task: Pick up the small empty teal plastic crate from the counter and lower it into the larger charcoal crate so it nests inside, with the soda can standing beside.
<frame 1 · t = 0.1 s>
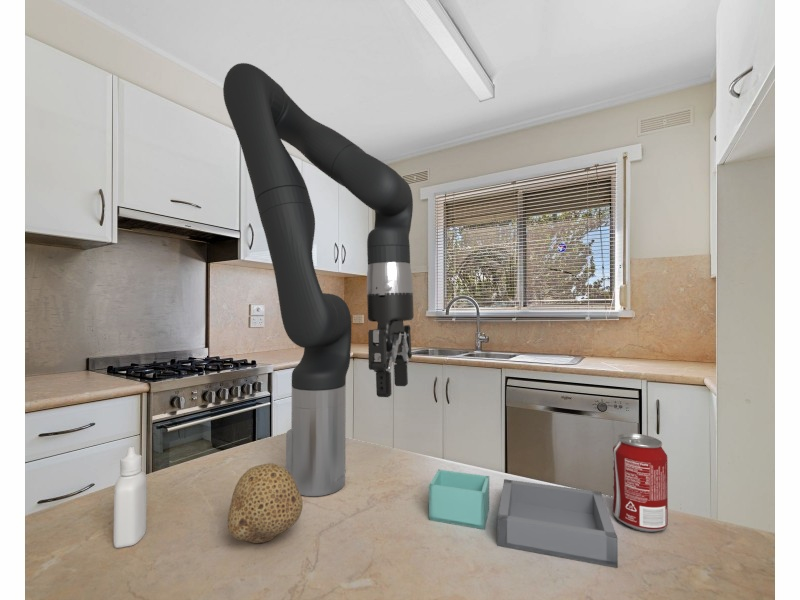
hand: (393, 390, 66), 17 cm above the countertop, tool pointing down, fingers open, 8 cm apart
large crate: (552, 529, 57), on the countertop
small crate: (459, 514, 61), on the countertop
eye dropper bottle: (130, 538, 55), on the countertop
natural sponge: (267, 542, 54), on the countertop
soda can: (639, 524, 59), on the countertop
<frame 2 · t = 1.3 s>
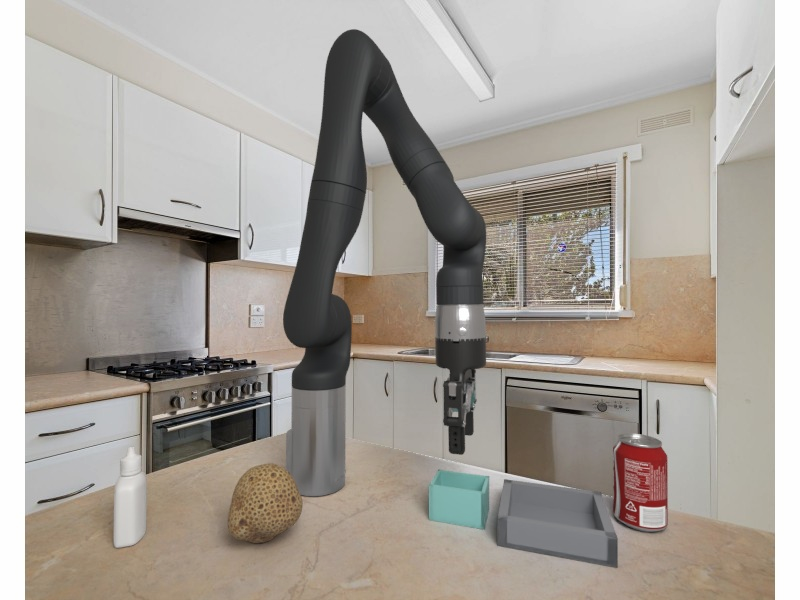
hand: (462, 443, 61), 11 cm above the countertop, tool pointing down, fingers open, 8 cm apart
nothing on the countertop moved.
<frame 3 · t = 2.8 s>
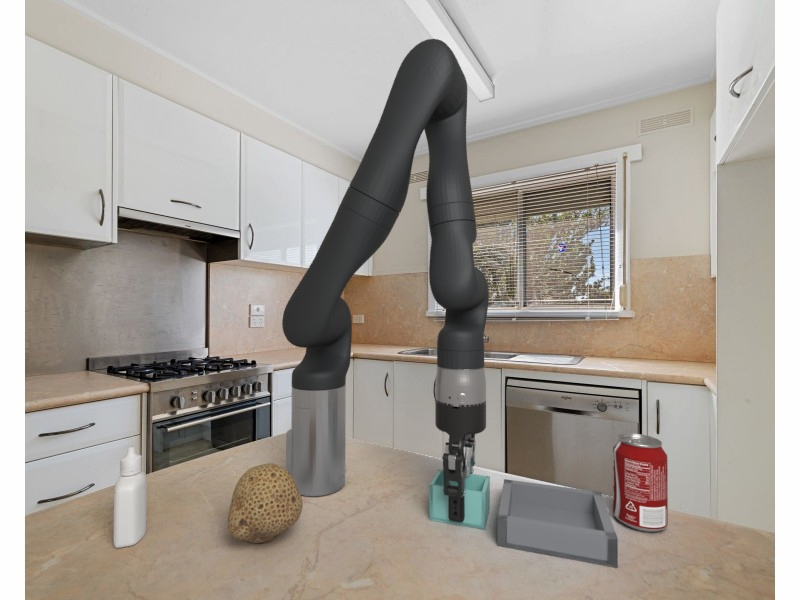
hand: (460, 508, 61), 1 cm above the countertop, tool pointing down, fingers closed on small crate, 6 cm apart
small crate: (460, 514, 61), on the countertop, touching gripper
everything else where it was.
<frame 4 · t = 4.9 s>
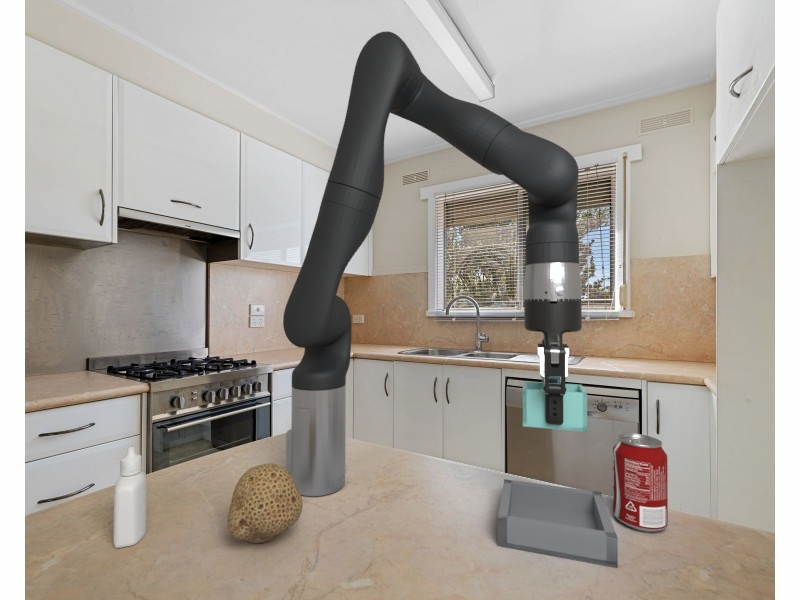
hand: (553, 416, 57), 16 cm above the countertop, tool pointing down, fingers closed on small crate, 6 cm apart
small crate: (553, 422, 57), point 15 cm above the countertop, touching gripper
everything else where it was.
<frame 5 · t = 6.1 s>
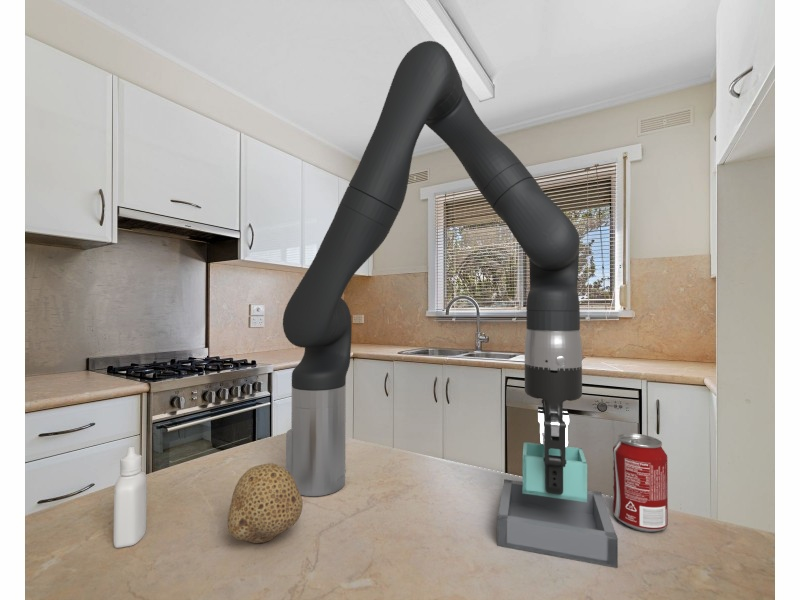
hand: (552, 482, 57), 7 cm above the countertop, tool pointing down, fingers closed on small crate, 6 cm apart
small crate: (553, 488, 57), point 6 cm above the countertop, touching gripper
everything else where it was.
when the fingers open (4 cm above the countertop, at t = 7.1 s): small crate drops 2 cm, resting on large crate.
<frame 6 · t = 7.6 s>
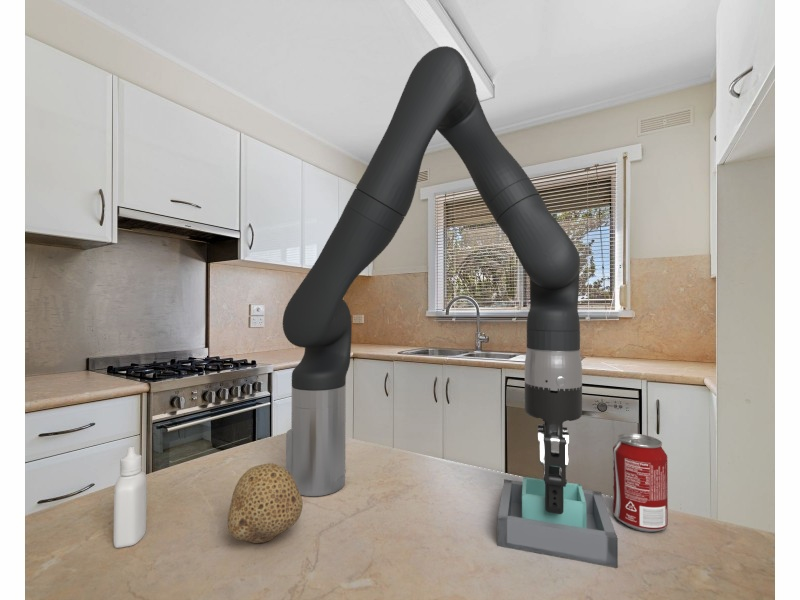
hand: (552, 497, 57), 4 cm above the countertop, tool pointing down, fingers open, 8 cm apart
small crate: (552, 525, 57), point 1 cm above the countertop, touching large crate
everything else where it was.
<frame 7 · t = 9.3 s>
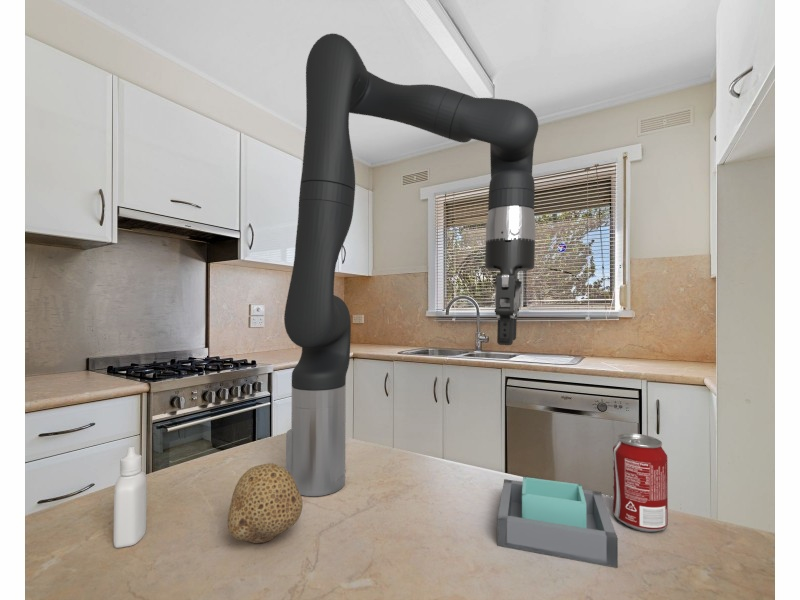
hand: (507, 342, 64), 25 cm above the countertop, tool pointing down, fingers open, 8 cm apart
nothing on the countertop moved.
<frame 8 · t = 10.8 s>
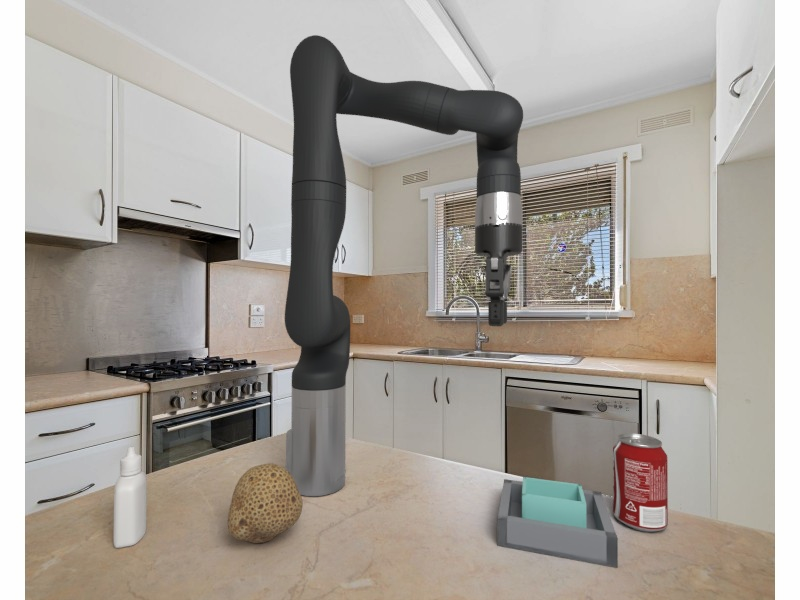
hand: (498, 324, 66), 28 cm above the countertop, tool pointing down, fingers open, 8 cm apart
nothing on the countertop moved.
at the end: small crate 0.0 cm off-centre on the large crate, point 0.6 cm above the large crate's base; small crate tilted 0°; the gripper is holding nothing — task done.
